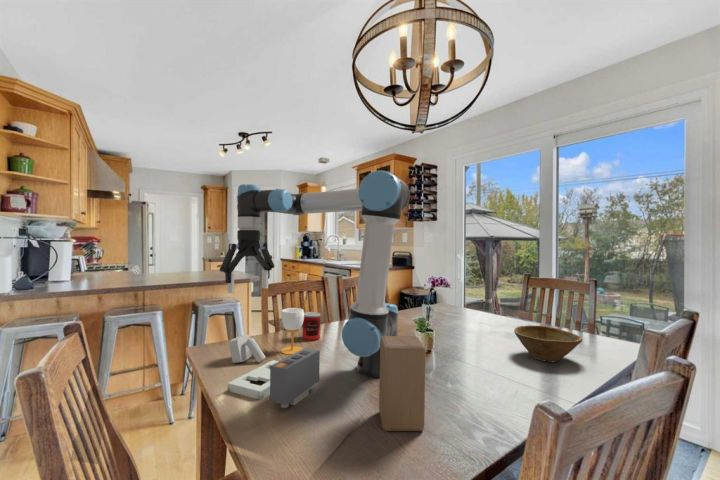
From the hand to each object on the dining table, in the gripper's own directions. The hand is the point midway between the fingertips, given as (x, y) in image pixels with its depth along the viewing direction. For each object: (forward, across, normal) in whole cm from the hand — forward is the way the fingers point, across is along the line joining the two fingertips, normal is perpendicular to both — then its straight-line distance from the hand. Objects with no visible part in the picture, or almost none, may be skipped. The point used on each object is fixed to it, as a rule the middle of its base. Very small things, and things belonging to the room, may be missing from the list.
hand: (248, 290), depth 118 cm
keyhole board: (+26, +5, +18) cm, 32 cm away
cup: (+26, -20, 0) cm, 33 cm away
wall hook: (+26, -2, -3) cm, 27 cm away
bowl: (+27, -77, +80) cm, 114 cm away
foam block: (+26, +7, +32) cm, 42 cm away
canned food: (+26, -36, -6) cm, 45 cm away
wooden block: (+27, -3, +60) cm, 66 cm away
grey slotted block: (+26, +7, +32) cm, 42 cm away
